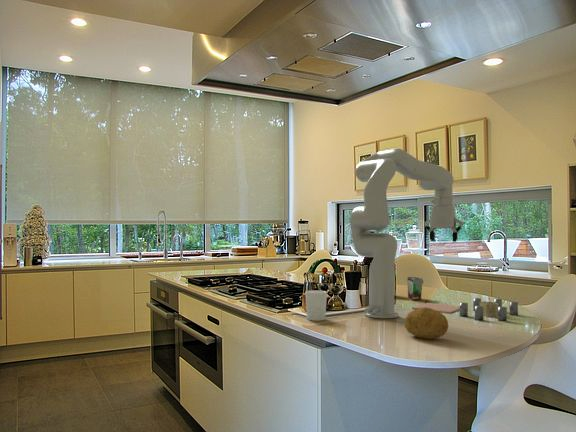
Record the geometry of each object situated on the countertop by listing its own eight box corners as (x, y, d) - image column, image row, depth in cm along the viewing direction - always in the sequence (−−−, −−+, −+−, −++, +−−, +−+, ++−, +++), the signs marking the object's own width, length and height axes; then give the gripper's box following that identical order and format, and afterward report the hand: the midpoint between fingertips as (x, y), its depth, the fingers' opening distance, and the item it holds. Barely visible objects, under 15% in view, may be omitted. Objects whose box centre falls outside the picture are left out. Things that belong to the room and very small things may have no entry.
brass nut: (494, 317, 180) (494, 304, 180) (478, 316, 184) (478, 302, 184) (499, 315, 185) (499, 302, 185) (483, 313, 189) (483, 300, 189)
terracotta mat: (450, 313, 188) (450, 312, 188) (412, 308, 198) (412, 307, 198) (464, 308, 200) (464, 307, 200) (427, 304, 210) (427, 302, 210)
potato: (415, 303, 154) (400, 304, 147) (455, 311, 144) (441, 311, 138) (412, 333, 153) (397, 334, 146) (452, 342, 144) (438, 344, 137)
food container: (426, 301, 219) (426, 279, 219) (413, 301, 219) (413, 279, 219) (419, 297, 231) (420, 276, 232) (407, 297, 231) (407, 276, 232)
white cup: (329, 318, 176) (329, 291, 176) (322, 322, 169) (322, 293, 169) (310, 316, 179) (310, 289, 179) (301, 320, 172) (302, 292, 172)
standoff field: (502, 323, 169) (502, 309, 169) (454, 317, 179) (454, 304, 179) (521, 313, 189) (521, 300, 190) (477, 308, 200) (477, 296, 200)
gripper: (421, 202, 211) (421, 241, 211) (460, 201, 201) (460, 242, 200) (427, 203, 217) (427, 240, 217) (466, 202, 207) (466, 241, 206)
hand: (443, 241), depth 209 cm, fingers open, 9 cm apart
